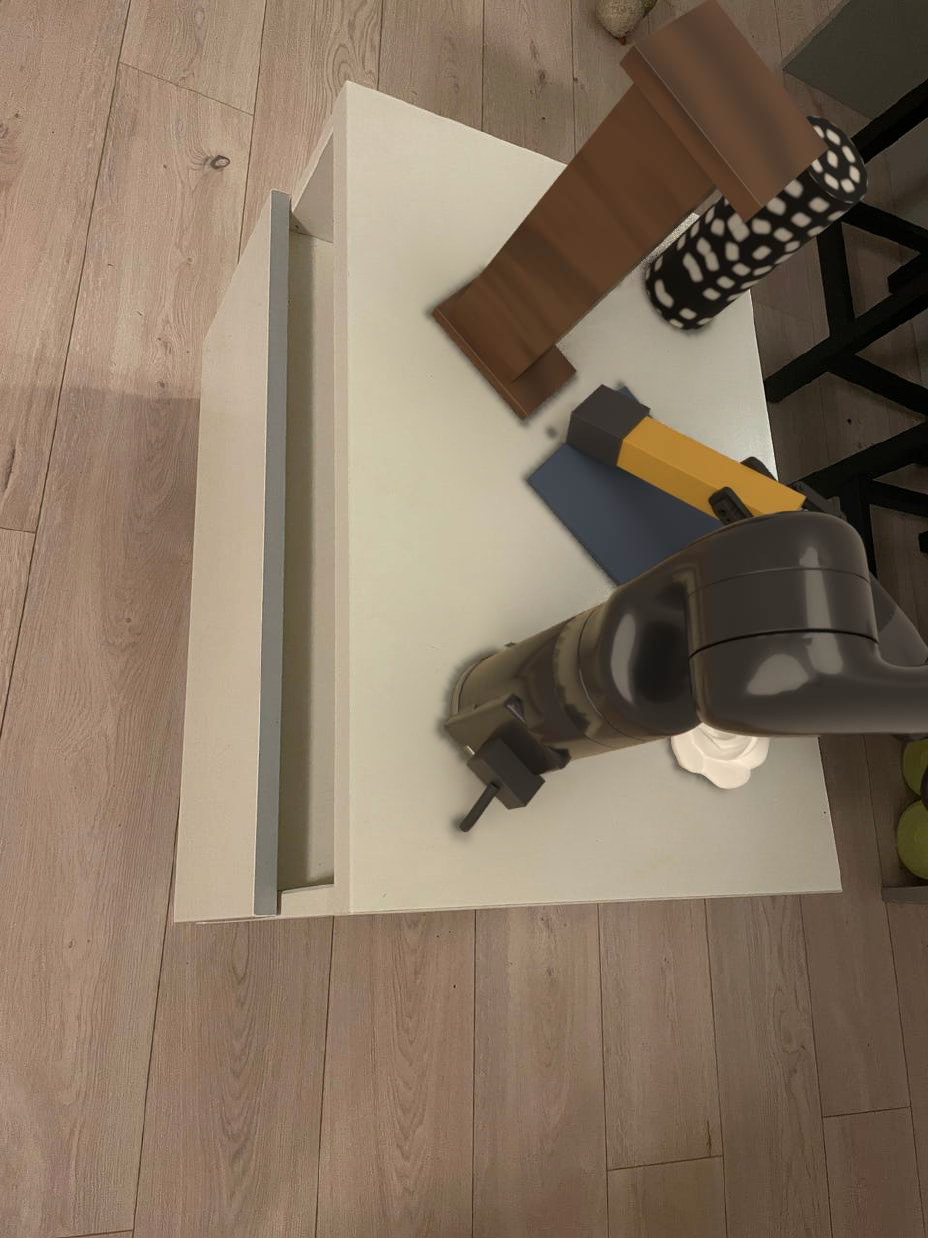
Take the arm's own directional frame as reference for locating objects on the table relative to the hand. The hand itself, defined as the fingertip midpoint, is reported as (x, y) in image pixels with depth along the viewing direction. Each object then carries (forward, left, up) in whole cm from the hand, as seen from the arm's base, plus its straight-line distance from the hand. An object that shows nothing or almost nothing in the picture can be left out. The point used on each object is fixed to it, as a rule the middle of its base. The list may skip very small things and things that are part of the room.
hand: (730, 477), depth 76 cm
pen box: (0, +2, -5) cm, 5 cm away
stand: (0, +21, -10) cm, 23 cm away
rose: (-11, -16, -10) cm, 22 cm away
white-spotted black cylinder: (+23, +14, -10) cm, 29 cm away
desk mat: (0, +3, -10) cm, 11 cm away
